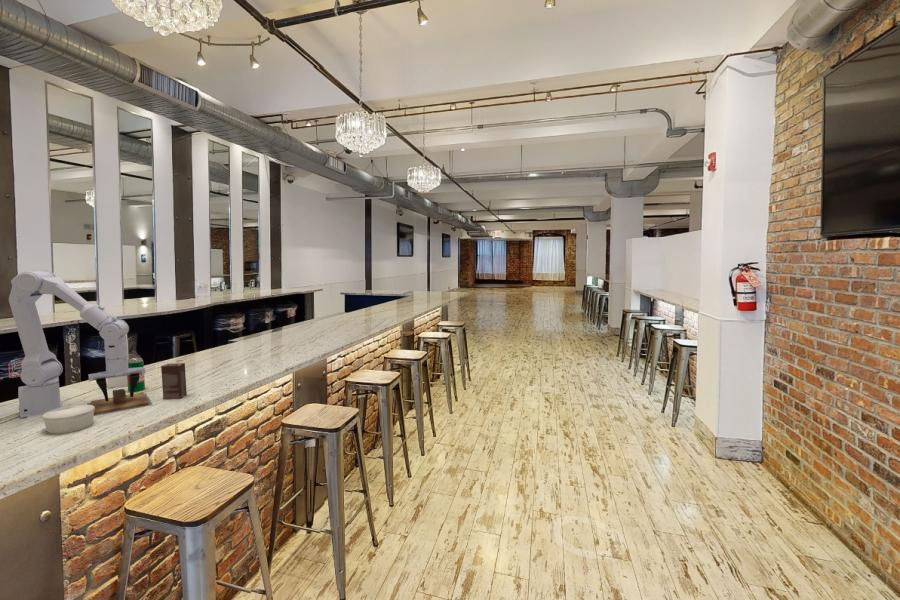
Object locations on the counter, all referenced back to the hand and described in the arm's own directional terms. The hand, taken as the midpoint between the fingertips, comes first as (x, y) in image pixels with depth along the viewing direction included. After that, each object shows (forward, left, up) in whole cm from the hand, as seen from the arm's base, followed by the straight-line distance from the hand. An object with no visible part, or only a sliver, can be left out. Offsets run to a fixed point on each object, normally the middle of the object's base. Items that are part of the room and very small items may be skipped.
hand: (119, 398), depth 141 cm
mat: (0, 0, -2) cm, 2 cm away
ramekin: (-12, -14, -3) cm, 19 cm away
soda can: (+6, +15, -3) cm, 16 cm away
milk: (+2, +28, -3) cm, 28 cm away
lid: (0, 0, -2) cm, 2 cm away
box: (+15, -3, -3) cm, 16 cm away
